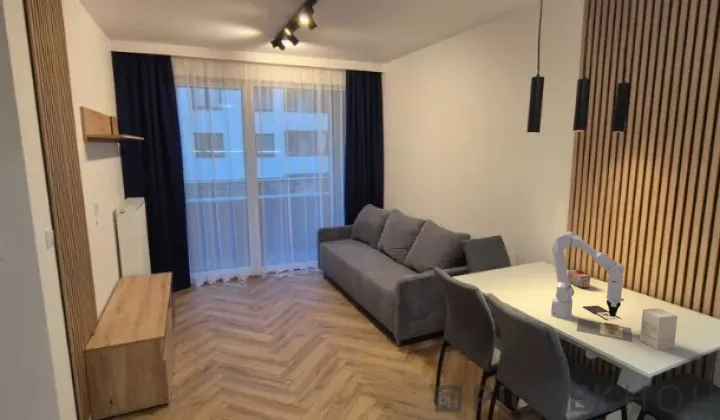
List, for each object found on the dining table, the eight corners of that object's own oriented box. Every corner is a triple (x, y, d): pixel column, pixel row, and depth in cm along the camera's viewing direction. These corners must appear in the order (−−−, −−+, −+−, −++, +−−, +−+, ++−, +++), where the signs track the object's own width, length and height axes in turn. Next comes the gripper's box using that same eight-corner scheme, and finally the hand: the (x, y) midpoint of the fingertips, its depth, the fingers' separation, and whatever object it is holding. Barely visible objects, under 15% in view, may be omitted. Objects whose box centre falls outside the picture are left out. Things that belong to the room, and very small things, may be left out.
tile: (604, 326, 193) (603, 332, 187) (604, 322, 193) (604, 328, 186) (618, 329, 190) (619, 335, 184) (619, 324, 190) (619, 331, 183)
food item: (592, 288, 246) (593, 273, 245) (580, 289, 245) (582, 274, 243) (575, 281, 260) (576, 266, 258) (565, 282, 258) (566, 267, 256)
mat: (576, 331, 189) (576, 330, 189) (578, 319, 203) (578, 318, 203) (632, 343, 178) (632, 341, 178) (631, 329, 191) (631, 328, 191)
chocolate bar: (598, 305, 219) (623, 319, 201) (597, 307, 219) (622, 321, 201) (582, 306, 218) (606, 320, 200) (582, 308, 218) (606, 322, 200)
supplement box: (656, 338, 181) (659, 307, 179) (674, 348, 173) (678, 315, 170) (639, 340, 180) (642, 308, 178) (656, 350, 171) (659, 317, 169)
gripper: (625, 295, 181) (622, 323, 183) (624, 285, 193) (622, 312, 195) (606, 292, 184) (604, 320, 186) (607, 283, 197) (605, 309, 199)
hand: (612, 316), depth 191 cm, fingers closed
